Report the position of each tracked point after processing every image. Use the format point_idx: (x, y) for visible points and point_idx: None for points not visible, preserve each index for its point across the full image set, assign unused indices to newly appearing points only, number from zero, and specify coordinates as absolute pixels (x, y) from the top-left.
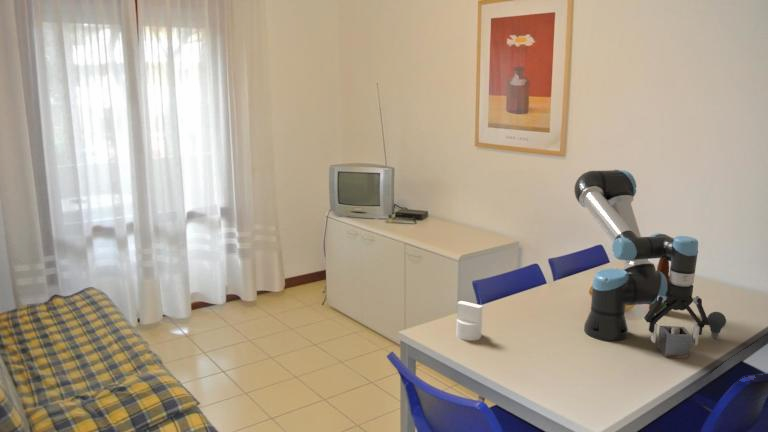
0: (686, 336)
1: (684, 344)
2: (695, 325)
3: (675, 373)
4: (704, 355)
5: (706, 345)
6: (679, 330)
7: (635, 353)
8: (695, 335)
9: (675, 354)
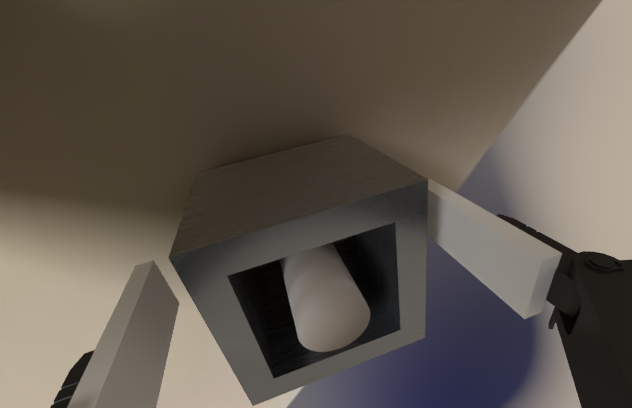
0: (386, 348)
1: None
2: (529, 280)
3: None
4: (432, 170)
5: (496, 11)
6: (360, 326)
7: (84, 293)
8: (458, 249)
9: None
